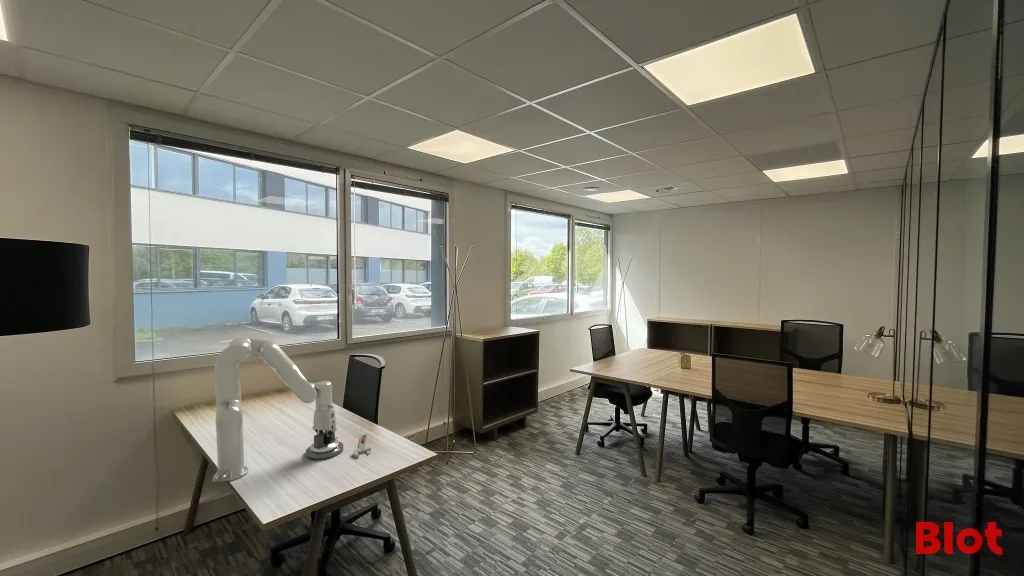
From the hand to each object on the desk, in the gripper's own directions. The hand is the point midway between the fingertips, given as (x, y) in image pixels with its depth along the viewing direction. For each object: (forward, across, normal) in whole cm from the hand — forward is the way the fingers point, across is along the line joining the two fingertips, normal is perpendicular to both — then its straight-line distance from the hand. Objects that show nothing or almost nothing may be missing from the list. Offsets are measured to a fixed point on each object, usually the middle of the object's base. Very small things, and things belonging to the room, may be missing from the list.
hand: (324, 442), depth 197 cm
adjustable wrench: (+5, -15, -10) cm, 19 cm away
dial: (+2, 0, -1) cm, 2 cm away
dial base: (+5, 0, 0) cm, 5 cm away
